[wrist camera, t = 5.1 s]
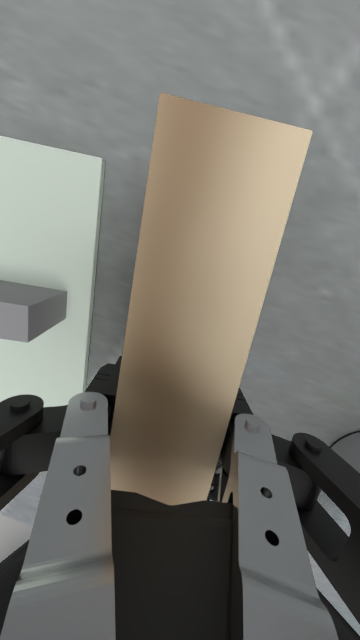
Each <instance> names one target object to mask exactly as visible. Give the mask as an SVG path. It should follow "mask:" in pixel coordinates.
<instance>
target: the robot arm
mask: <svg viewBox="0 0 360 640" xmlns="http://www.w3.org/2000/svg"><path fill="white" fill-rule="evenodd" d="M121 360H122V356H120V357H119V359H118V361H117V363H116V365H114V364H106V365H105V366H103V367H101V368H100V370H99V371H98V373H97V374H96V376H95V377H94V379H93V380H92V382H91V383H90V385H89V386H88V388H87V389H86V391H85V392H83V393H79V394H77V395H75V396H73V397H72V398H71V399H70V400H69V402H68V405H64V406H55V407H44V402H43V400H42V398H40V397H38V396H36V395H29V394H24V395H17V396H13V397H10V398H7V399H5V400H3V401H1V402H0V510H1V509H3V508H4V507H5V506H6V505H7V504H8V503H9V502H10V501H11V500H12V499H13V498H14V497H15V496H16V495H17V494H18V493H19V492H21V491H22V490H23V489H24V488H25V487H26V486H27V485H28V484H29V483H30V482H31V481H32V480H33V479H34V478H35V477H36V476H37V475H38V474H39V472H42V471H48V472H47V475H46V479H45V483H44V487H43V491H42V495H41V498H40V502H39V506H38V510H37V514H36V517H35V521H34V525H33V529H32V533H31V536H30V539H29V540H28V541H27V542H26V543H24V544H23V545H22V546H21V547H19V548H18V549H17V550H16V551H14V552H13V553H12V554H11V555H9V556H8V557H7V558H6V559H5V560H3V561H2V562H1V563H0V640H360V636H359V635H358V634H357V633H356V631H355V630H354V629H353V628H352V627H351V626H350V625H349V624H348V623H347V621H346V620H345V619H344V618H343V617H342V616H341V615H340V614H339V612H338V611H337V610H336V609H335V608H334V607H333V606H332V605H331V604H330V602H329V601H328V600H327V599H326V598H325V597H324V596H323V595H322V594H321V592H320V591H319V590H318V589H317V588H316V585H315V580H314V576H313V572H312V568H311V564H310V560H309V556H308V552H307V550H308V551H309V553H310V554H311V556H312V557H313V558H314V560H315V561H316V563H317V564H318V566H319V567H320V568H321V570H322V571H323V573H324V574H325V576H326V577H327V578H328V580H329V581H330V583H331V584H332V585H333V587H334V588H335V590H336V591H337V593H338V594H339V595H340V597H341V598H342V600H343V601H344V603H345V604H346V605H347V607H348V608H349V610H350V611H351V613H352V614H353V615H354V617H355V618H356V620H357V621H358V623H359V624H360V432H358V433H354V434H351V435H349V436H346V437H345V438H343V439H341V440H340V441H338V442H337V443H336V444H335V445H333V446H332V447H331V448H330V447H329V446H327V445H326V444H325V443H324V442H323V441H321V440H320V439H318V438H316V437H314V436H312V435H309V434H306V433H296V434H294V435H293V438H292V441H288V440H285V439H283V438H280V437H277V436H275V435H272V434H271V430H270V428H269V426H268V425H267V424H266V423H265V422H264V421H263V420H262V419H260V418H258V417H256V416H254V415H253V413H252V411H251V410H250V408H249V406H248V404H247V402H246V400H245V398H244V396H243V394H242V392H241V390H240V388H239V389H238V393H237V396H236V400H235V403H234V407H233V410H232V413H231V417H230V420H229V424H228V427H227V431H226V434H225V438H224V441H223V445H222V448H221V452H220V455H219V459H218V460H221V461H222V468H221V472H220V478H219V489H218V501H217V502H215V501H206V500H203V501H197V502H191V503H185V504H178V505H167V504H164V503H162V502H159V501H156V500H154V499H151V498H149V497H146V496H144V495H141V494H138V493H136V492H128V491H119V490H111V470H110V436H111V429H112V422H113V415H114V408H115V402H116V395H117V388H118V381H119V374H120V367H121ZM321 489H322V490H323V491H324V492H325V493H326V495H327V496H328V497H329V498H330V499H331V500H332V501H333V502H334V503H335V504H336V505H337V506H338V507H339V509H340V510H341V511H342V512H343V513H344V514H345V516H346V517H347V519H348V521H349V523H350V526H351V534H350V536H349V537H348V536H347V535H346V533H345V532H344V531H343V530H342V529H341V528H340V527H339V525H338V524H337V523H336V522H335V521H334V520H333V519H332V517H331V516H330V515H329V514H328V513H327V512H326V511H325V509H324V508H323V507H322V506H321V505H320V504H319V502H318V501H317V498H318V496H319V494H320V491H321Z"/></svg>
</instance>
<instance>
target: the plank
mask: <svg viewBox="0 0 360 640" xmlns="http://www.w3.org/2000/svg"><path fill="white" fill-rule="evenodd" d="M312 132H313V131H311V130H307V129H303V128H299V127H295V126H291V125H287V124H284V123H280V122H276V121H272V120H268V119H264V118H260V117H256V116H252V115H248V114H244V113H240V112H236V111H232V110H228V109H224V108H220V107H216V106H212V105H208V104H204V103H200V102H196V101H192V100H188V99H184V98H180V97H176V96H172V95H169V94H165V93H161V92H160V96H159V103H158V110H157V117H156V124H155V131H154V138H153V145H152V152H151V158H150V165H149V172H148V179H147V186H146V193H145V200H144V207H143V214H142V221H141V228H140V235H139V242H138V249H137V256H136V263H135V270H134V277H133V283H132V290H131V297H130V304H129V311H128V318H127V325H126V332H125V339H124V346H123V353H122V360H121V367H120V374H119V381H118V388H117V395H116V402H115V408H114V415H113V422H112V429H111V436H110V470H111V490H119V491H128V492H136V493H138V494H141V495H144V496H146V497H149V498H151V499H154V500H156V501H159V502H162V503H164V504H167V505H178V504H185V503H191V502H197V501H203V500H207V497H208V494H209V490H210V487H211V483H212V480H213V476H214V473H215V469H216V466H217V462H218V459H219V455H220V452H221V448H222V445H223V441H224V438H225V434H226V431H227V427H228V424H229V420H230V417H231V413H232V410H233V407H234V403H235V400H236V396H237V393H238V389H239V386H240V382H241V379H242V375H243V372H244V368H245V365H246V361H247V358H248V354H249V351H250V347H251V344H252V340H253V337H254V333H255V330H256V327H257V323H258V320H259V316H260V313H261V309H262V306H263V302H264V299H265V295H266V292H267V288H268V285H269V281H270V278H271V274H272V271H273V267H274V264H275V260H276V257H277V253H278V250H279V247H280V243H281V240H282V236H283V233H284V229H285V226H286V222H287V219H288V215H289V212H290V208H291V205H292V201H293V198H294V194H295V191H296V187H297V184H298V180H299V177H300V173H301V170H302V167H303V163H304V160H305V156H306V153H307V149H308V146H309V142H310V139H311V135H312Z"/></svg>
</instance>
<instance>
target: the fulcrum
mask: <svg viewBox="0 0 360 640" xmlns="http://www.w3.org/2000/svg"><path fill="white" fill-rule="evenodd" d="M104 173H105V162H104V160H103V159H102V158H99V157H94V156H90V155H85V154H81V153H76V152H72V151H67V150H62V149H58V148H53V147H49V146H44V145H40V144H35V143H31V142H26V141H22V140H17V139H13V138H8V137H4V136H0V402H1V401H3V400H5V399H7V398H10V397H13V396H17V395H24V394H29V395H36V396H38V397H40V398H42V400H43V402H44V407H55V406H64V405H68V402H69V400H70V399H71V398H72V397H73V396H75V395H77V394H79V393H83V392H85V391H86V381H87V370H88V358H89V346H90V335H91V323H92V312H93V300H94V289H95V277H96V265H97V254H98V242H99V231H100V219H101V208H102V196H103V185H104Z"/></svg>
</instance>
